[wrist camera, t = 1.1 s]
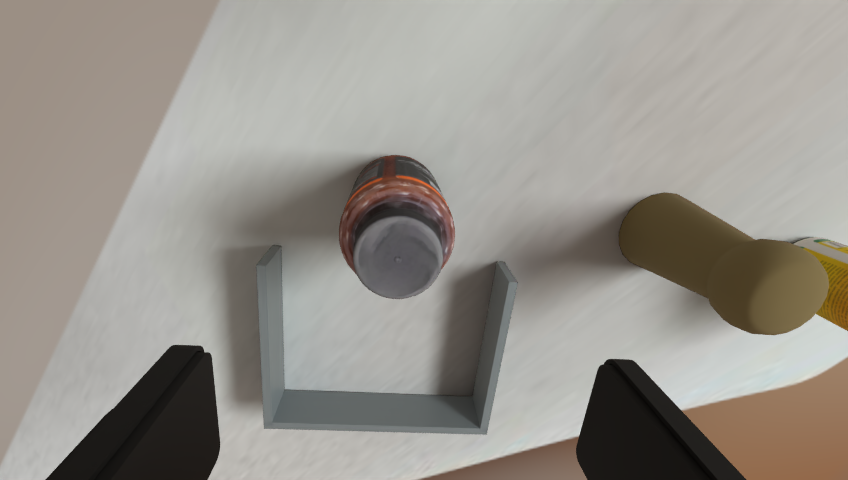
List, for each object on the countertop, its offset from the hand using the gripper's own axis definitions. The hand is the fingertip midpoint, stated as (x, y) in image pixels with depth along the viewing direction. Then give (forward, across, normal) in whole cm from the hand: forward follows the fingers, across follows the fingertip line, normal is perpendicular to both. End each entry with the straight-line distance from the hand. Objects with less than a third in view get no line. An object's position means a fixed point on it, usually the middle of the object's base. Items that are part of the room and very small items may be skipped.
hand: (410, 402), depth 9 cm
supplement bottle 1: (+20, 0, -1) cm, 20 cm away
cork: (+20, -20, 0) cm, 28 cm away
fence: (+20, 0, +10) cm, 22 cm away
